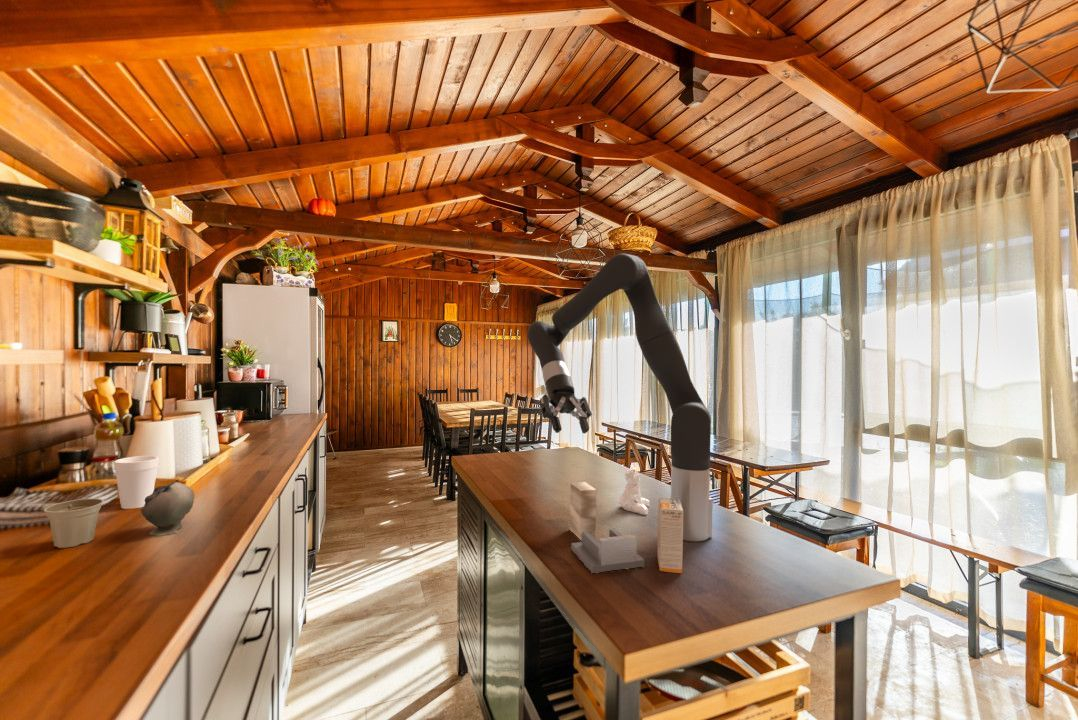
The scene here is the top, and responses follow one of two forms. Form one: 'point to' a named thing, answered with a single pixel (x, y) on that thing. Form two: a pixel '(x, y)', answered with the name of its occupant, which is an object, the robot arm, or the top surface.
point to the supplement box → (670, 535)
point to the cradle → (608, 552)
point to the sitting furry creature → (633, 494)
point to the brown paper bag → (582, 509)
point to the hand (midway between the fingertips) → (572, 431)
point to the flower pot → (73, 521)
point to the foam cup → (135, 479)
